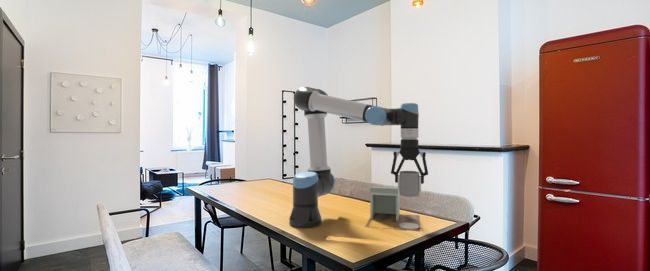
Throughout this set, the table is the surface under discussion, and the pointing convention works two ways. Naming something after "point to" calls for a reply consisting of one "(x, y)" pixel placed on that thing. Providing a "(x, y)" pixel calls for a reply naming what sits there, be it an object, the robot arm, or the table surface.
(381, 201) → the hood
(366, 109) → the robot arm
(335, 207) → the table surface
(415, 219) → the board
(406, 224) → the coaster
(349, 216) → the table surface
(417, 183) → the cup
